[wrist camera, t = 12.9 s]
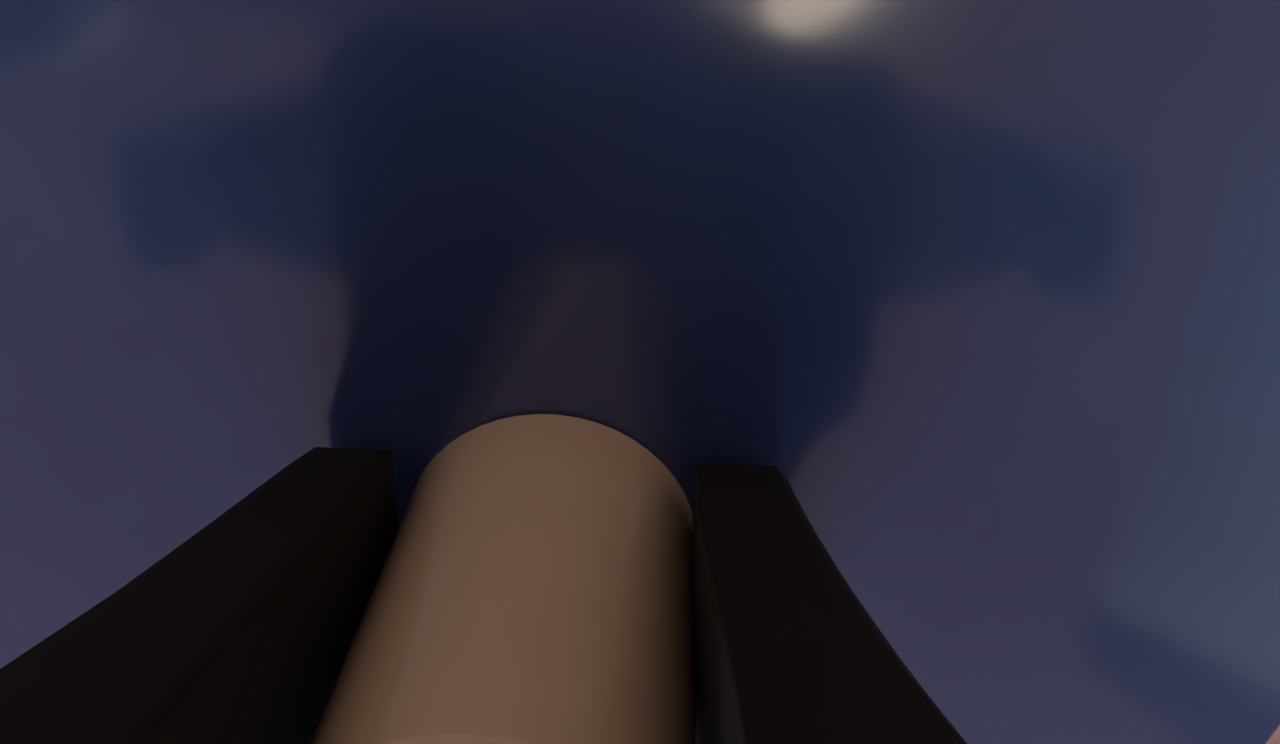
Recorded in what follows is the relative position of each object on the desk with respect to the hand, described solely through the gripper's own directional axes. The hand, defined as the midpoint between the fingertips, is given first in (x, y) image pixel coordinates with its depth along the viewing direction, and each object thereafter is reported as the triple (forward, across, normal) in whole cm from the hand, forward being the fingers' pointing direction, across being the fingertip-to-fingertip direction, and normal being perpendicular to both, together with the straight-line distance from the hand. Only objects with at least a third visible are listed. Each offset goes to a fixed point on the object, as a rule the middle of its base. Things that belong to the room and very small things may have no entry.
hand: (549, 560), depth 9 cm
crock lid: (+1, 0, 0) cm, 1 cm away
